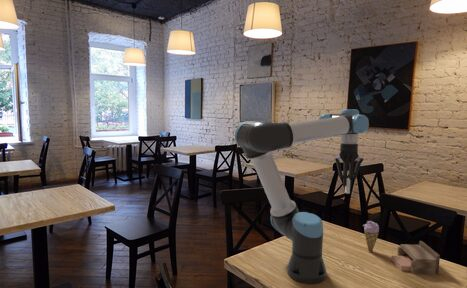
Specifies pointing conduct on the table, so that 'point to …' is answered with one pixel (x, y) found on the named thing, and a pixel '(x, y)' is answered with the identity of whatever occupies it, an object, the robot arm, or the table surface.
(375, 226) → the ice cream cone
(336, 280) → the table surface
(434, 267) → the brown channel bracket
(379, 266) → the table surface
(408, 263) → the pinkish brown block
